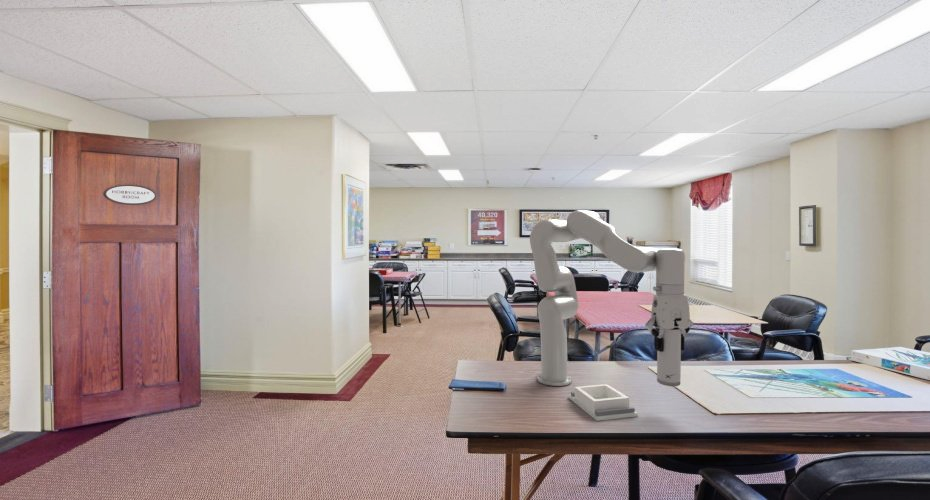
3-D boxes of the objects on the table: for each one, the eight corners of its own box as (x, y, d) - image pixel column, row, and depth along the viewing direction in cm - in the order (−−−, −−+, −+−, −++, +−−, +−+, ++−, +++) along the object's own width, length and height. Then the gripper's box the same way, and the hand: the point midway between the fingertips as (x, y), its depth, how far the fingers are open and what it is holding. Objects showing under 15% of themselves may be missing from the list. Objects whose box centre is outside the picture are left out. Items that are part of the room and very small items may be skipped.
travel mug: (672, 388, 116) (673, 319, 115) (652, 381, 122) (653, 315, 121) (686, 384, 119) (686, 317, 118) (665, 378, 125) (666, 313, 124)
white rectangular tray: (568, 397, 133) (568, 384, 133) (604, 394, 135) (604, 381, 135) (596, 420, 115) (596, 405, 115) (637, 416, 118) (637, 400, 117)
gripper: (652, 292, 114) (651, 355, 115) (704, 290, 118) (704, 351, 118) (636, 289, 122) (635, 348, 122) (685, 287, 125) (685, 345, 125)
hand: (669, 349), depth 120 cm, fingers closed on travel mug, 6 cm apart
